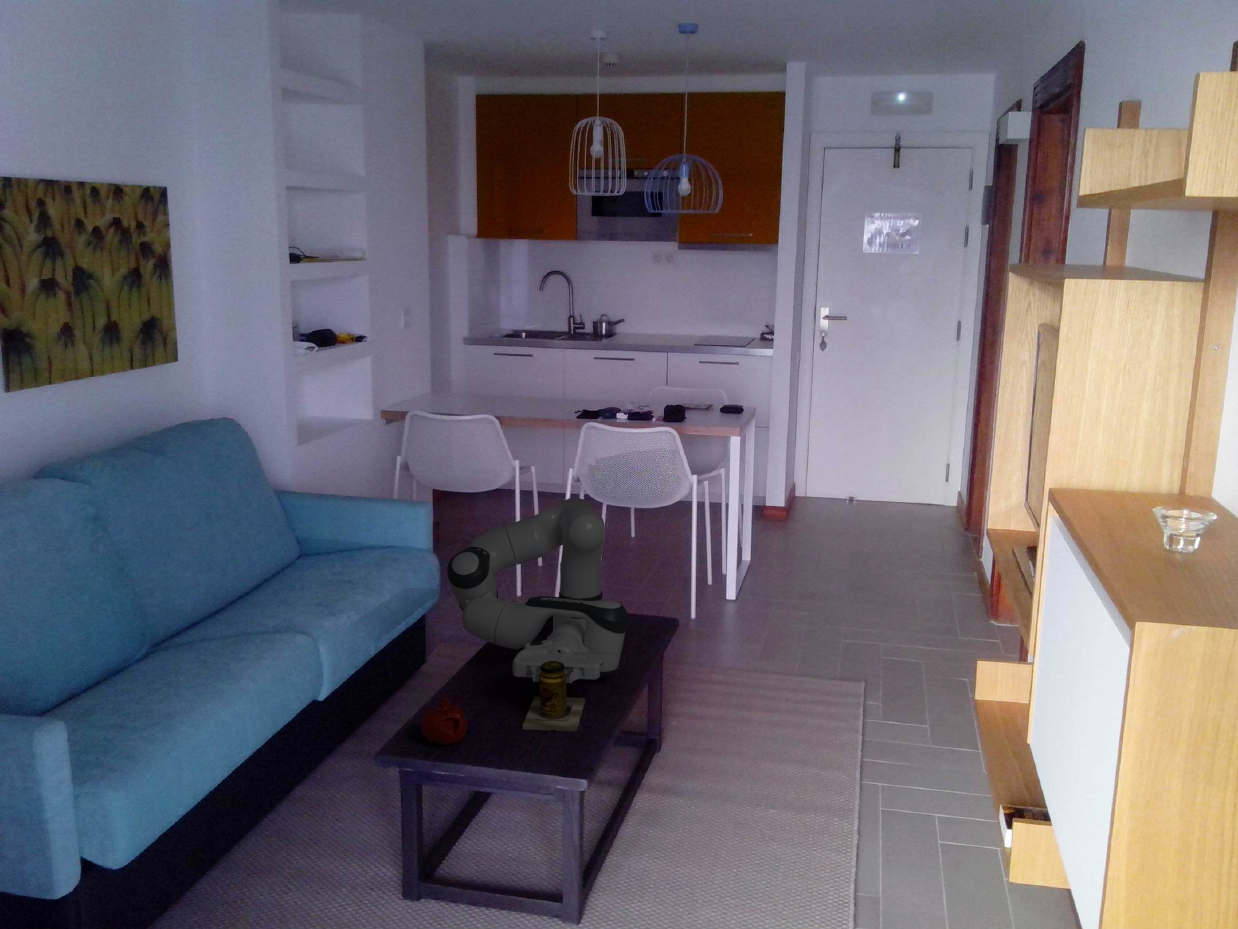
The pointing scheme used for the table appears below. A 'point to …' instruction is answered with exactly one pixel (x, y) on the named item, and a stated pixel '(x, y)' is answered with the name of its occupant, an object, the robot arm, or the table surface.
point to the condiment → (553, 692)
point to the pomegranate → (444, 723)
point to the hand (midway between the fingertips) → (552, 679)
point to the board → (559, 725)
